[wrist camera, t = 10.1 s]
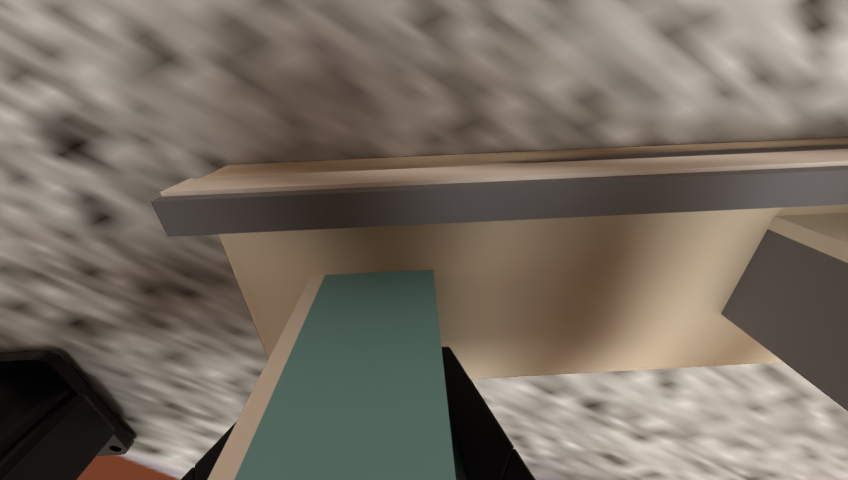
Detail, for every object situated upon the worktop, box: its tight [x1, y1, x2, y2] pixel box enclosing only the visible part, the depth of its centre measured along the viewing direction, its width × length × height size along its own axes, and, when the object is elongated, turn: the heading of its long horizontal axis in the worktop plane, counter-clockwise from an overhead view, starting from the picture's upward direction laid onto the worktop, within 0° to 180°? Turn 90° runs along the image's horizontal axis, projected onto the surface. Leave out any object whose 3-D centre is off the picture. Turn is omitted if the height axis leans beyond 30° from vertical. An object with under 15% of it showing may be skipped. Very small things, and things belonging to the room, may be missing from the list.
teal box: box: [207, 270, 456, 480], centre depth 8 cm, size 5×4×6 cm
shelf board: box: [151, 137, 848, 379], centre depth 10 cm, size 20×8×3 cm, turn 92°
